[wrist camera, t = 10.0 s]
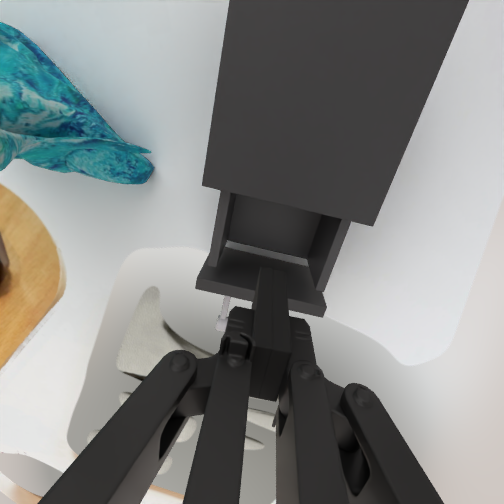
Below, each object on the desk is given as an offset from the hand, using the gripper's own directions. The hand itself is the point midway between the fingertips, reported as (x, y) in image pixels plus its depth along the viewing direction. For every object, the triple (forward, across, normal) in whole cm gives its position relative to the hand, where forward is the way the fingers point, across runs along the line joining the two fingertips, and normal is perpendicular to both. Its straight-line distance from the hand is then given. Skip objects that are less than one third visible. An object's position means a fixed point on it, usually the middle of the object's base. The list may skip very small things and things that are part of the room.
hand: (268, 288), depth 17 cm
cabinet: (+16, +1, +11) cm, 19 cm away
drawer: (+15, 0, -2) cm, 15 cm away
